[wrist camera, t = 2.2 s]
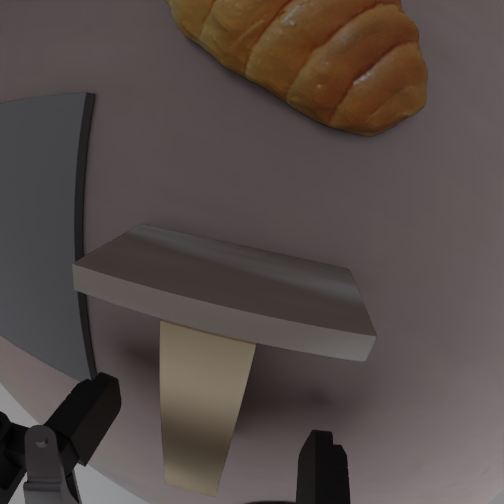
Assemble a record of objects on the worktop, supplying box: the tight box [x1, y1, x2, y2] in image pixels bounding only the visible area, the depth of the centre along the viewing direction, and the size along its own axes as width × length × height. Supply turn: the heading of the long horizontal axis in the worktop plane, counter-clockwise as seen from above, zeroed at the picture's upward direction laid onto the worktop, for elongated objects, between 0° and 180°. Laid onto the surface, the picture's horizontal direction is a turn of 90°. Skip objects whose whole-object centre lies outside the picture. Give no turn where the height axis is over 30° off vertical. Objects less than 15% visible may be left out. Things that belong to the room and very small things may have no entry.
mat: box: [0, 92, 96, 382], centre depth 12 cm, size 10×15×1 cm, turn 170°
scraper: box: [72, 224, 377, 497], centre depth 11 cm, size 11×8×4 cm
